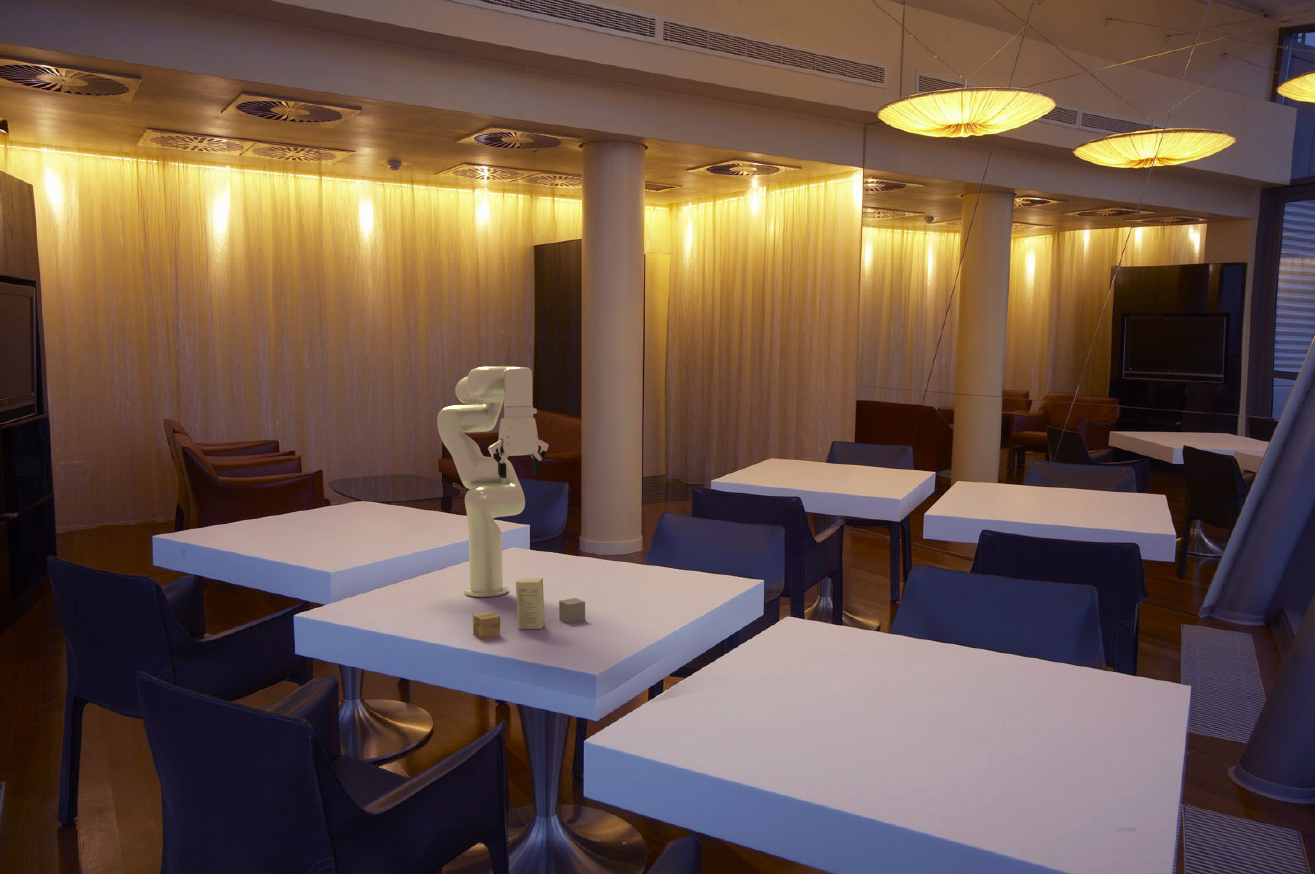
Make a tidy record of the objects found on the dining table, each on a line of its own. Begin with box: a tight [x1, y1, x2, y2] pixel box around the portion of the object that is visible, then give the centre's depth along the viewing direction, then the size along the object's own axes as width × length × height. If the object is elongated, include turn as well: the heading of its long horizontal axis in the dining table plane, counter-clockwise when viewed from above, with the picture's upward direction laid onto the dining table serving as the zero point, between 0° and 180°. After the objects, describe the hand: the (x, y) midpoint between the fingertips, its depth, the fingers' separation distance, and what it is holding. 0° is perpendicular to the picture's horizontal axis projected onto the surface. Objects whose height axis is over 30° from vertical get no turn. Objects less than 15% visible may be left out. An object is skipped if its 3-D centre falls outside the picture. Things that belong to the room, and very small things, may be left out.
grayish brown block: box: [558, 597, 586, 624], centre depth 236 cm, size 5×5×5 cm
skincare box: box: [515, 578, 546, 630], centre depth 229 cm, size 6×4×12 cm
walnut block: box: [472, 611, 501, 640], centre depth 223 cm, size 5×5×5 cm
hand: (519, 476), depth 243 cm, fingers open, 9 cm apart
